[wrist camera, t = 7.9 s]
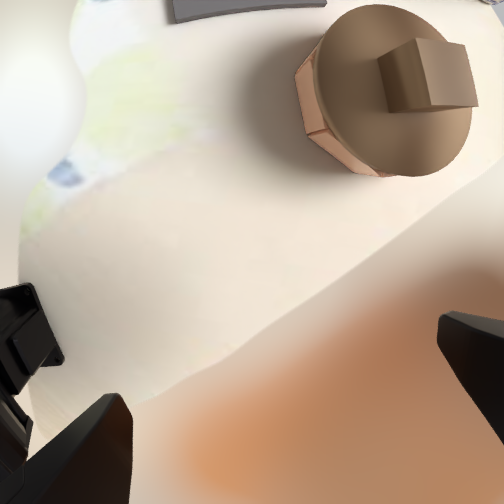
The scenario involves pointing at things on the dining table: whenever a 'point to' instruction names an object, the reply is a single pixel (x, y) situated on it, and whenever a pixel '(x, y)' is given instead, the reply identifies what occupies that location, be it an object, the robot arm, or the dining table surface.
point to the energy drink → (493, 1)
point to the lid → (394, 90)
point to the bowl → (319, 127)
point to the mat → (232, 7)
